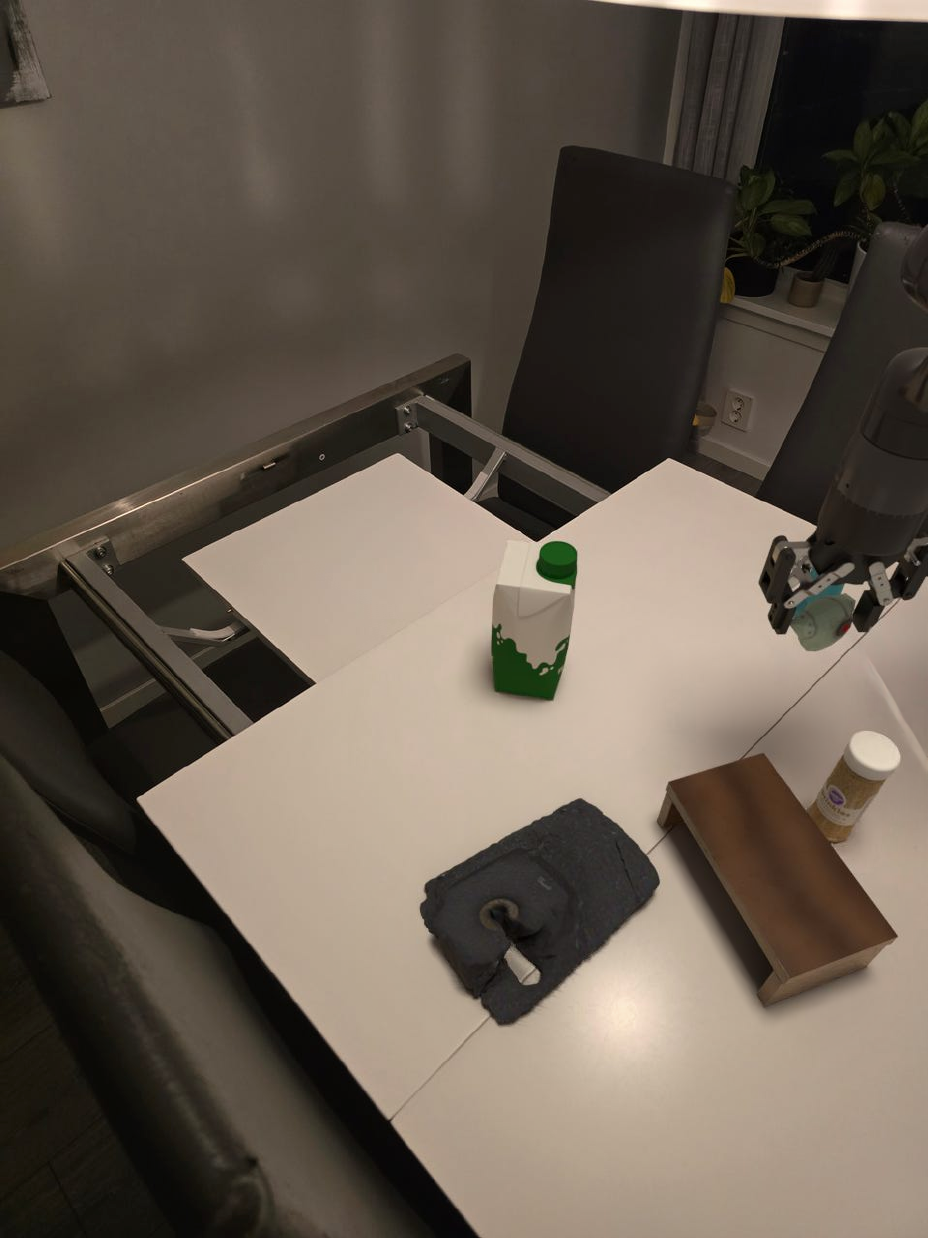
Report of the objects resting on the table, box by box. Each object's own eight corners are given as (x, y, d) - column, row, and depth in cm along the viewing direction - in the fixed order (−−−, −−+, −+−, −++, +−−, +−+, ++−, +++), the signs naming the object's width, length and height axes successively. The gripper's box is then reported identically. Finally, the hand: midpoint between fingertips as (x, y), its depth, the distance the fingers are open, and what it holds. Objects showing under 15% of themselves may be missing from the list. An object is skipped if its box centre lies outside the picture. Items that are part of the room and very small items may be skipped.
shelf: (745, 790, 85) (763, 752, 80) (868, 968, 72) (898, 936, 67) (655, 818, 82) (668, 781, 77) (765, 1009, 69) (788, 979, 64)
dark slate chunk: (681, 907, 76) (691, 884, 72) (492, 1039, 67) (493, 1020, 64) (583, 791, 85) (588, 766, 81) (405, 895, 76) (402, 872, 73)
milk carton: (559, 708, 93) (576, 583, 79) (484, 695, 94) (488, 571, 80) (567, 654, 99) (585, 530, 85) (497, 643, 100) (503, 519, 86)
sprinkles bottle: (797, 823, 82) (840, 747, 73) (819, 797, 84) (864, 720, 75) (837, 852, 80) (888, 778, 70) (859, 825, 82) (911, 749, 72)
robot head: (823, 622, 79) (847, 572, 75) (856, 648, 77) (883, 597, 72) (767, 651, 76) (788, 601, 72) (800, 679, 74) (824, 629, 69)
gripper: (814, 514, 60) (756, 659, 71) (996, 510, 60) (909, 654, 72) (781, 459, 65) (732, 602, 77) (949, 455, 66) (875, 598, 77)
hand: (818, 627), depth 74 cm, fingers closed on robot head, 7 cm apart
